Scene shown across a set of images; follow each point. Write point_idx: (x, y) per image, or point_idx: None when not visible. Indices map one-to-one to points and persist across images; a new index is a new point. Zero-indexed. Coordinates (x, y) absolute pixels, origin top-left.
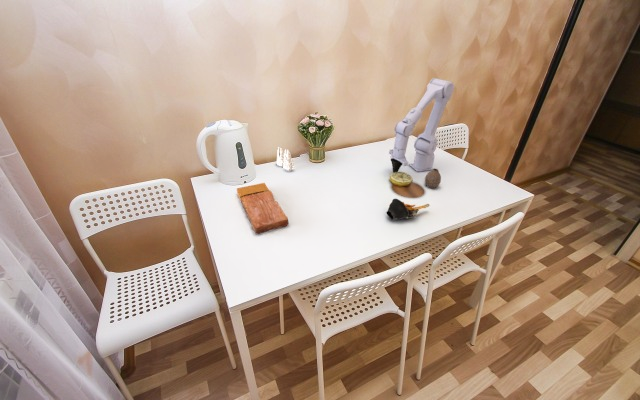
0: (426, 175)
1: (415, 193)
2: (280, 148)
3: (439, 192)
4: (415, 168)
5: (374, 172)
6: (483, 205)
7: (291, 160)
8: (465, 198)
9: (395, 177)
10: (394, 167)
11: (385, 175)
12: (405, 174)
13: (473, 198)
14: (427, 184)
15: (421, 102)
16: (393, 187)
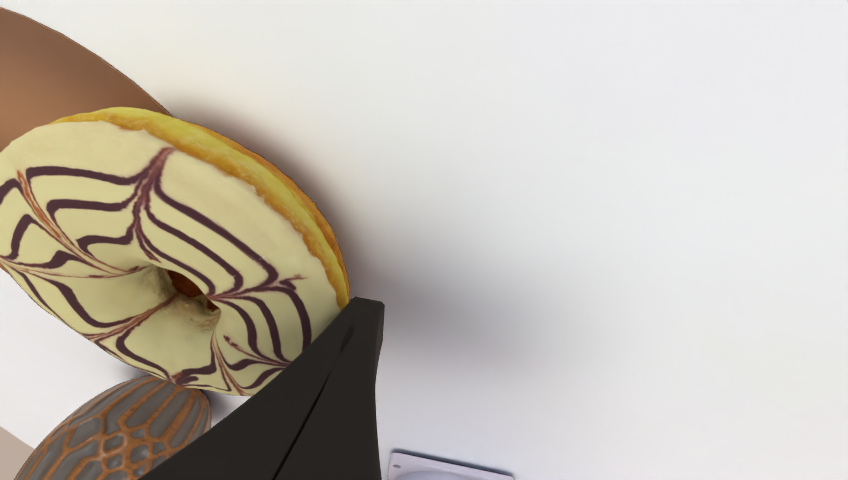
0: (111, 475)
1: None
2: None
3: (95, 376)
4: (431, 470)
5: (657, 67)
6: (17, 425)
7: None
8: (61, 418)
9: (46, 193)
10: (268, 389)
11: (450, 194)
12: (200, 371)
13: None
14: (119, 389)
15: None
16: (76, 72)
